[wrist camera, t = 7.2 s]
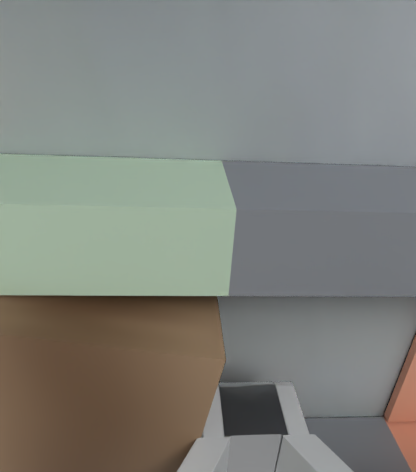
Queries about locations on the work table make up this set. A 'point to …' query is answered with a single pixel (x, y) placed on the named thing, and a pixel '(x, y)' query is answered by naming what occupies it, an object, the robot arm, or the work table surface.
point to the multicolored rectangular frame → (222, 248)
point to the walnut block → (105, 381)
